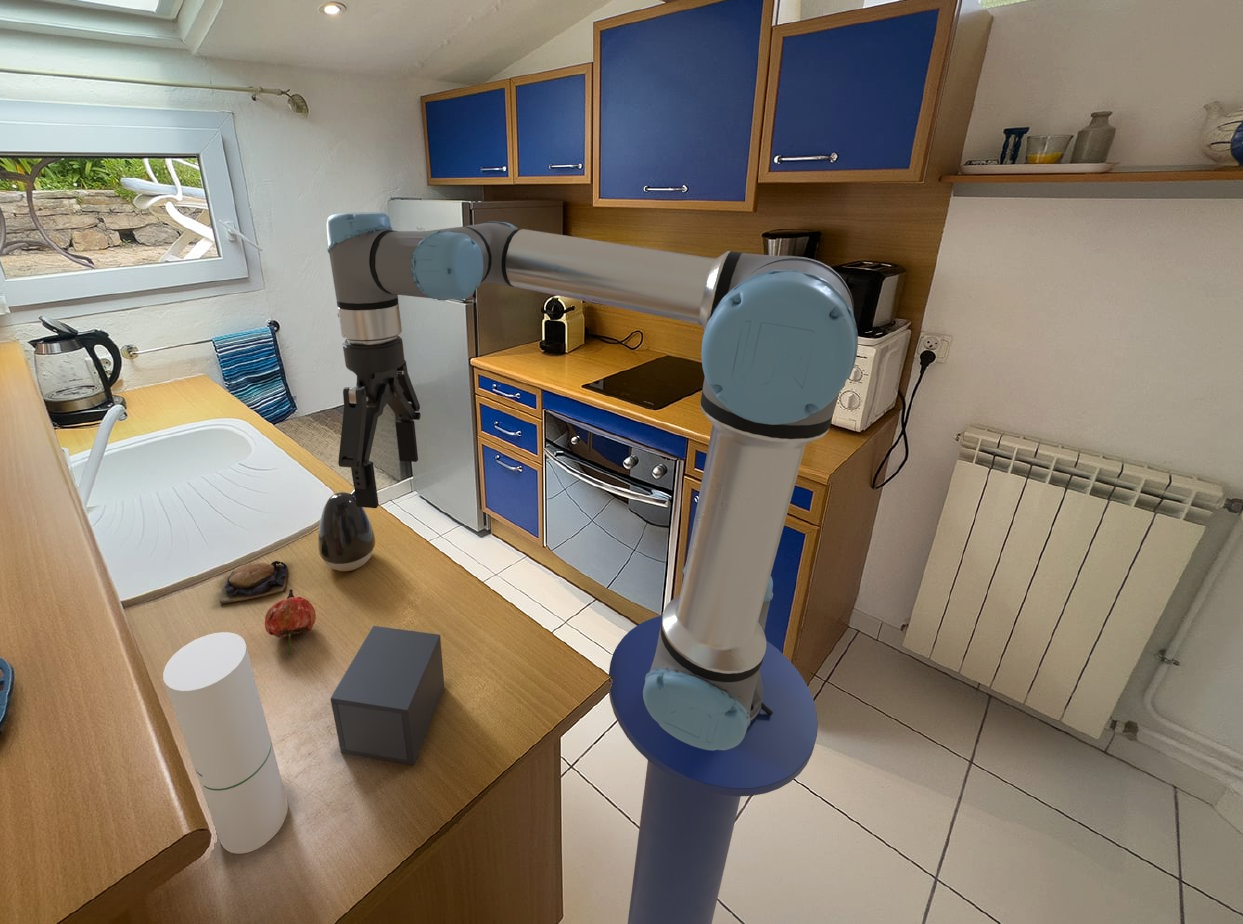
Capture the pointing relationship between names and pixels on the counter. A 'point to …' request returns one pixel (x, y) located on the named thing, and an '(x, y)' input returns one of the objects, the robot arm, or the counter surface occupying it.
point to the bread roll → (254, 581)
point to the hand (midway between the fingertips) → (390, 481)
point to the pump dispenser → (345, 533)
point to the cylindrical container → (228, 739)
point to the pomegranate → (290, 617)
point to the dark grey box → (389, 695)
